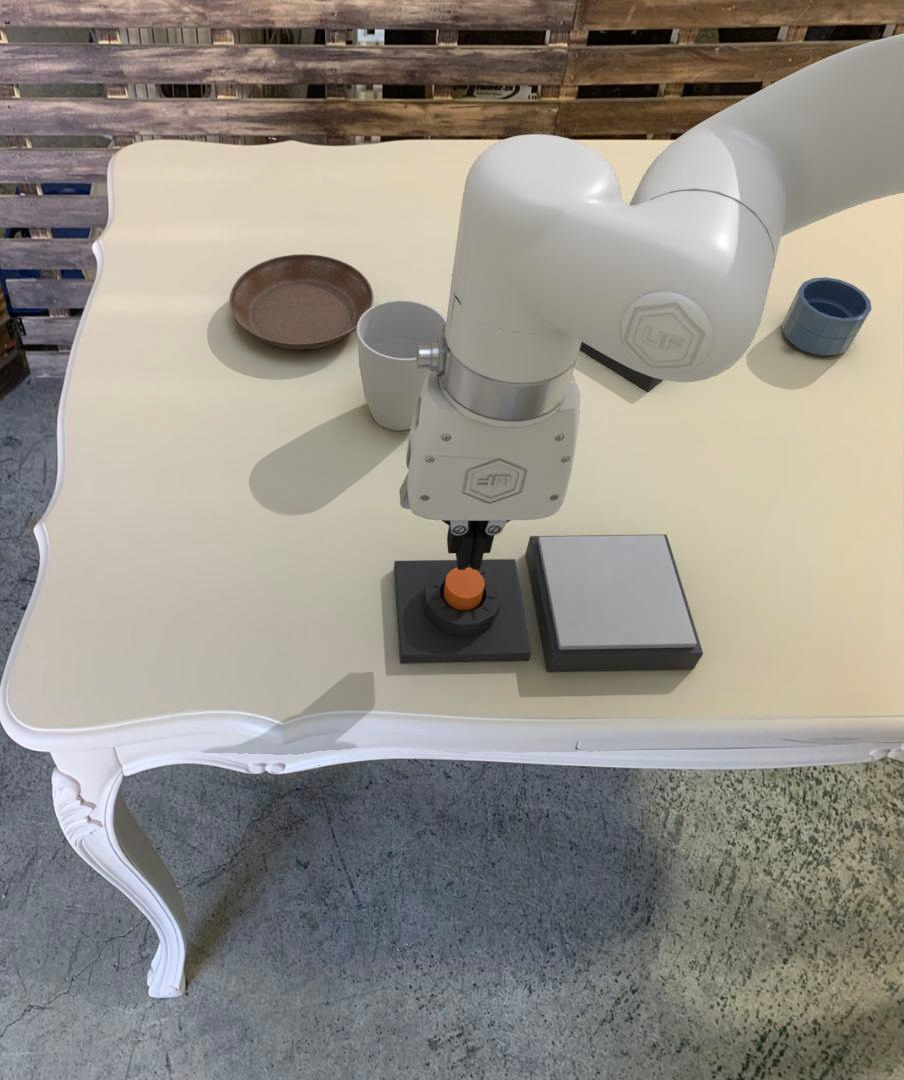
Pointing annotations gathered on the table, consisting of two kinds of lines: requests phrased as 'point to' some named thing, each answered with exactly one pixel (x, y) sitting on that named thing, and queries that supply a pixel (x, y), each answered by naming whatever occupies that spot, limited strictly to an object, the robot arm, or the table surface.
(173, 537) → the table surface
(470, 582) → the button
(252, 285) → the saucer
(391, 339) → the cup
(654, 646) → the scale
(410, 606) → the panel
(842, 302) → the blue round container
